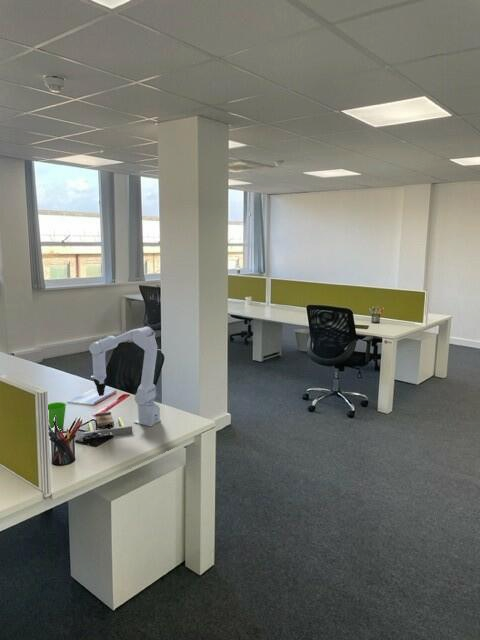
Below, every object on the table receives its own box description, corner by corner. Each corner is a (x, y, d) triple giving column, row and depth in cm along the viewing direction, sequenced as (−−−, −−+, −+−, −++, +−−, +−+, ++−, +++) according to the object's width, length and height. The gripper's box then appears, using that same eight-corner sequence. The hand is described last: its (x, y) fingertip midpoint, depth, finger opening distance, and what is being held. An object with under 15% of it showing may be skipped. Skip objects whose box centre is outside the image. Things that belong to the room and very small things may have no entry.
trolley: (95, 420, 219) (95, 413, 219) (111, 418, 222) (110, 411, 222) (97, 429, 210) (97, 421, 210) (114, 426, 213) (113, 419, 212)
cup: (60, 434, 205) (59, 410, 203) (41, 432, 207) (40, 408, 205) (71, 426, 214) (70, 402, 212) (53, 424, 215) (52, 401, 213)
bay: (81, 428, 211) (81, 421, 211) (127, 421, 219) (126, 415, 219) (84, 440, 199) (84, 433, 199) (132, 432, 207) (132, 426, 206)
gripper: (88, 363, 228) (90, 390, 230) (92, 371, 215) (93, 399, 217) (104, 361, 230) (105, 388, 233) (107, 369, 217) (109, 398, 220)
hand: (100, 394), depth 225 cm, fingers open, 4 cm apart
